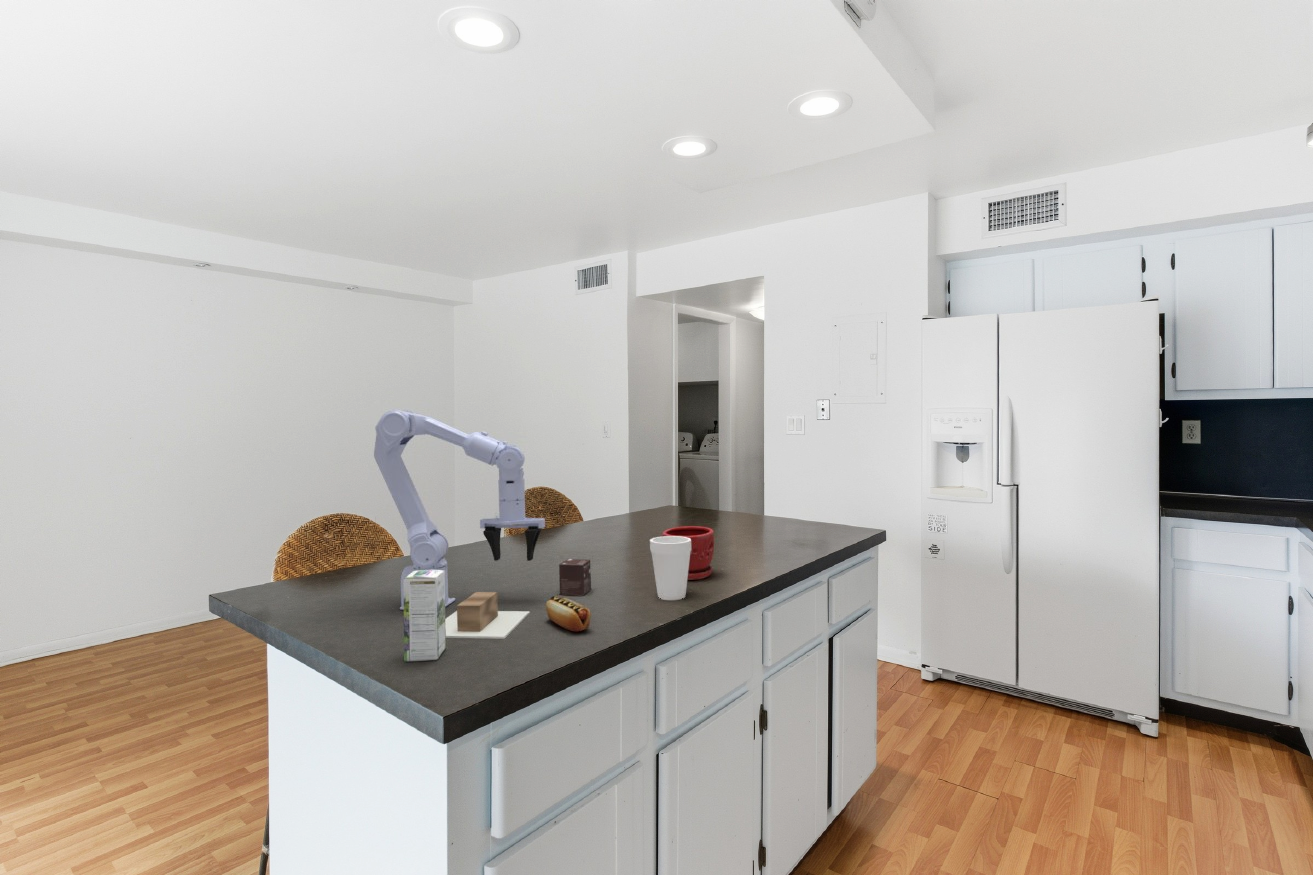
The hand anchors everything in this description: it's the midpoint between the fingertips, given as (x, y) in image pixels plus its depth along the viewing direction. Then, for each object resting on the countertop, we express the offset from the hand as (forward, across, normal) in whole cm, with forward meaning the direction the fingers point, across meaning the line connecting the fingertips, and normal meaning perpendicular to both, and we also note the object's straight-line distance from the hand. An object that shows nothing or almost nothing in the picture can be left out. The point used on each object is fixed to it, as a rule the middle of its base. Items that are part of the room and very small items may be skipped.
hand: (513, 559), depth 147 cm
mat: (+9, -2, -17) cm, 19 cm away
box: (+10, +12, +8) cm, 18 cm away
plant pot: (+10, +38, +25) cm, 46 cm away
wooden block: (+9, -2, -17) cm, 20 cm away
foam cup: (+10, +35, +6) cm, 37 cm away
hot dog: (+10, +16, -17) cm, 25 cm away
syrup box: (+10, -4, -34) cm, 36 cm away
